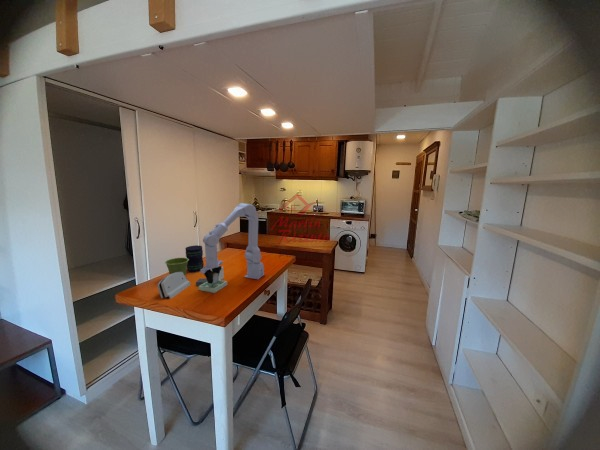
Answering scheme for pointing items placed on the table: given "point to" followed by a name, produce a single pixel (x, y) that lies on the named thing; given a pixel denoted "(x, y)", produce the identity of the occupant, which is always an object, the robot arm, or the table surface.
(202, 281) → the square block
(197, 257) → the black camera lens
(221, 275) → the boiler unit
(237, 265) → the table surface
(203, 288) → the tray
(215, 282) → the block
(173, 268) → the plant pot
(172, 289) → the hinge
